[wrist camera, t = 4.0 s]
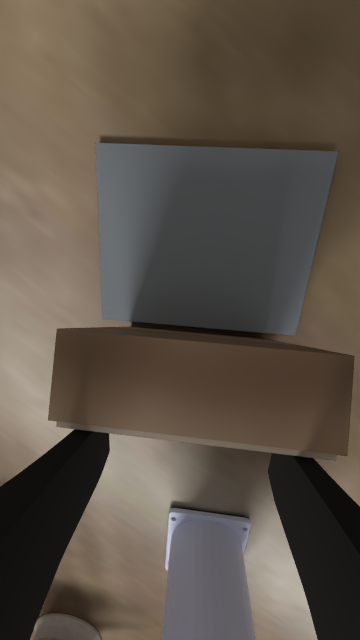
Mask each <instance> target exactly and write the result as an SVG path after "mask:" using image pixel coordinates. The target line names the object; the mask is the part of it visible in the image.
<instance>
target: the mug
mask: <svg viewBox="0 0 360 640" xmlns="http://www.w3.org/2000/svg"><path fill="white" fill-rule="evenodd" d="M34 629H35V636H34V640H101V636H100V634H99V632H98V631H97V630H96V629H95V628H94V627H93V626H92V625H91V624H89V623H87V622H86V621H84V620H82V619H80V618H77V617H75V616H72V615H67V614H62V613H50V614H45V615H42V616H41V617H39V618H38V619H37V622H36V624H35V627H34Z"/></svg>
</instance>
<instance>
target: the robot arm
mask: <svg viewBox="0 0 360 640" xmlns="http://www.w3.org/2000/svg"><path fill="white" fill-rule="evenodd" d="M109 451H110V449H109V433H103V432H95V431H87V430H78V429H75V430H73V431H72V432H71V433H70V434H69V435H67V436H66V437H65V438H64V439H63V440H61V441H60V442H59V443H58V444H56V445H55V446H54V447H53V448H51V449H50V450H49V451H48V452H46V453H45V454H44V455H43V456H41V457H40V458H39V459H37V460H36V461H35V462H33V463H32V464H31V465H29V466H28V467H27V468H26V469H24V470H23V471H22V472H20V473H19V474H18V475H16V476H15V477H13V478H12V479H11V480H9V481H8V482H6V483H5V484H4V485H2V486H1V487H0V640H30V637H31V634H32V632H33V629H34V627H35V624H36V622H37V619H38V616H39V614H40V611H41V609H42V606H43V604H44V601H45V599H46V596H47V594H48V591H49V589H50V586H51V584H52V581H53V579H54V576H55V574H56V571H57V569H58V566H59V564H60V561H61V559H62V557H63V555H64V552H65V550H66V548H67V546H68V544H69V542H70V540H71V537H72V535H73V533H74V531H75V529H76V527H77V525H78V523H79V521H80V519H81V517H82V515H83V512H84V510H85V508H86V506H87V504H88V502H89V500H90V498H91V496H92V494H93V492H94V489H95V487H96V485H97V483H98V481H99V479H100V476H101V474H102V471H103V468H104V466H105V463H106V460H107V457H108V454H109ZM268 474H269V479H270V483H271V488H272V492H273V496H274V501H275V504H276V507H277V510H278V513H279V516H280V519H281V522H282V525H283V528H284V531H285V534H286V537H287V540H288V543H289V546H290V549H291V552H292V555H293V558H294V561H295V564H296V567H297V570H298V573H299V576H300V579H301V582H302V585H303V588H304V592H305V595H306V598H307V602H308V605H309V609H310V612H311V616H312V620H313V624H314V627H315V631H316V635H317V639H318V640H360V507H359V506H358V505H357V504H356V503H355V502H354V501H353V500H352V498H351V497H350V496H349V495H348V494H347V493H346V492H345V491H344V490H343V489H342V488H341V487H340V486H339V485H338V484H337V483H336V482H335V481H334V480H333V479H332V478H331V477H330V476H329V475H328V474H327V473H326V471H325V470H324V469H323V468H322V467H321V466H320V465H319V464H318V463H317V462H316V461H315V460H314V459H313V458H310V457H301V456H293V455H285V454H277V453H272V456H271V460H270V464H269V468H268ZM250 527H251V524H250V520H249V519H248V518H244V517H237V516H229V515H222V514H215V513H208V512H201V511H194V510H187V509H180V508H171V509H170V510H169V521H168V534H167V548H166V562H165V569H166V570H167V571H168V575H167V585H166V596H165V606H164V616H163V626H162V637H161V640H256V636H255V629H254V623H253V616H252V609H251V603H250V596H249V590H248V583H247V576H246V570H245V563H244V552H245V548H246V544H247V540H248V536H249V531H250Z"/></svg>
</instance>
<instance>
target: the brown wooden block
mask: <svg viewBox="0 0 360 640" xmlns="http://www.w3.org/2000/svg"><path fill="white" fill-rule="evenodd" d="M353 370H354V356H352V355H347V354H342V353H336V352H331V351H326V350H321V349H316V348H310V347H305V346H300V345H295V344H289V343H284V342H279V341H274V340H269V339H263V338H253V337H242V336H231V335H219V334H208V333H197V332H186V331H174V330H163V329H152V328H141V327H100V328H64V329H57V333H56V343H55V354H54V364H53V374H52V384H51V395H50V405H49V415H48V420H50V421H57V425H56V427H62V428H70V429H78V430H87V431H95V432H103V433H111V434H120V435H128V436H136V437H144V438H153V439H161V440H169V441H178V442H186V443H194V444H202V445H211V446H219V447H227V448H235V449H244V450H252V451H260V452H268V453H277V454H285V455H293V456H301V457H310V458H318V459H326V460H335V461H336V455H343V456H347V453H348V439H349V425H350V411H351V397H352V384H353Z"/></svg>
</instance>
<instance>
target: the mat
mask: <svg viewBox="0 0 360 640" xmlns="http://www.w3.org/2000/svg"><path fill="white" fill-rule="evenodd" d="M95 150H96V174H97V198H98V222H99V246H100V271H101V295H102V319H110V320H121V321H133V322H144V323H155V324H167V325H178V326H190V327H201V328H212V329H224V330H235V331H247V332H258V333H269V334H281V335H292V336H295V335H296V330H297V326H298V322H299V318H300V313H301V309H302V305H303V301H304V297H305V292H306V288H307V284H308V280H309V275H310V271H311V267H312V263H313V258H314V254H315V250H316V246H317V241H318V237H319V233H320V229H321V224H322V220H323V216H324V212H325V207H326V203H327V199H328V195H329V190H330V186H331V182H332V178H333V173H334V169H335V165H336V161H337V156H338V152H339V151H313V150H285V149H257V148H229V147H201V146H173V145H144V144H116V143H95Z"/></svg>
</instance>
